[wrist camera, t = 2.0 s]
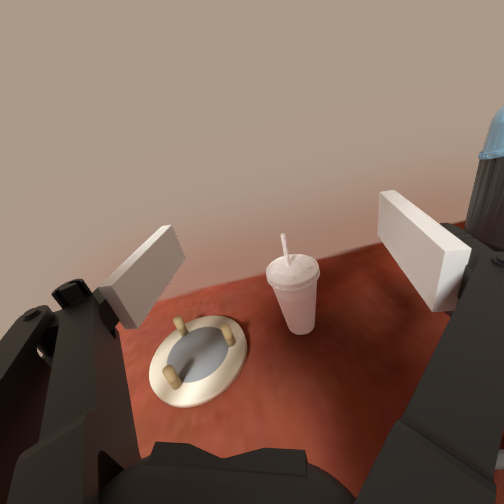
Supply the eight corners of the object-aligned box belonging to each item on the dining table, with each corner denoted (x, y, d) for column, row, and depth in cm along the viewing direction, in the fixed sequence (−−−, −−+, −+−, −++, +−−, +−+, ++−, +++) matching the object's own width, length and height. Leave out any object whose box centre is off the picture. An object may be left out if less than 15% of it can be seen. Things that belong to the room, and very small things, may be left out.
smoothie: (301, 301, 37) (288, 219, 30) (335, 323, 32) (329, 230, 25) (269, 324, 35) (247, 240, 28) (301, 352, 30) (283, 258, 23)
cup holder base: (261, 326, 35) (255, 306, 33) (218, 423, 25) (206, 402, 23) (189, 315, 40) (180, 297, 38) (131, 390, 30) (115, 371, 28)
